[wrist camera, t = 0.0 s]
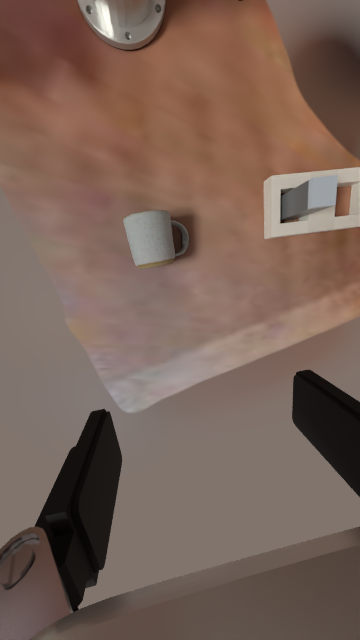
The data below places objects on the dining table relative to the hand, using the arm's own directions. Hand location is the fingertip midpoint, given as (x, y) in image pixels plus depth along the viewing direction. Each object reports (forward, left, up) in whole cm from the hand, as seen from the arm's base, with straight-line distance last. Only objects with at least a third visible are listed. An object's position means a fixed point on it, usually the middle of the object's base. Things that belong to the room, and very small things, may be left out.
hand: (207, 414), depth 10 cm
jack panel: (-15, +31, -31) cm, 46 cm away
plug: (-15, +26, -31) cm, 43 cm away
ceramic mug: (-12, 0, -32) cm, 34 cm away
